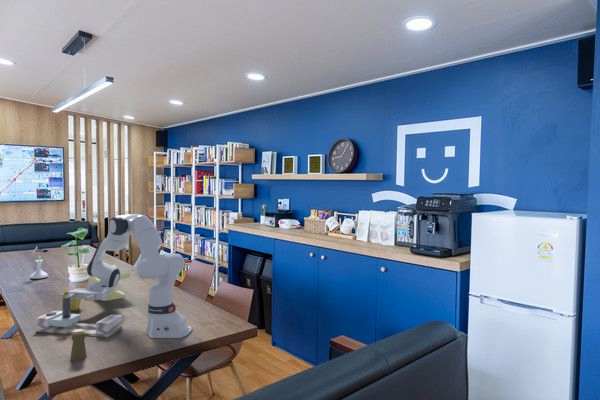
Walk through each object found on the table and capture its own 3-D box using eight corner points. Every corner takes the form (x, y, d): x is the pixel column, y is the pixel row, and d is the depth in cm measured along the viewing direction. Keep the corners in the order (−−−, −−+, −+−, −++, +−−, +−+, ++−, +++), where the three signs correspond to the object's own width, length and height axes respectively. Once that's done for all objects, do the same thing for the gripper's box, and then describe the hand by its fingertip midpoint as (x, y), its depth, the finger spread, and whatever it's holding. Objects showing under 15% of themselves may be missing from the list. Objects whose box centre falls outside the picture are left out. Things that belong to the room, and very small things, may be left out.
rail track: (121, 328, 198) (122, 314, 198) (107, 337, 186) (107, 322, 186) (54, 322, 203) (54, 309, 203) (36, 331, 191) (36, 316, 191)
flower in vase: (35, 276, 299) (35, 244, 298) (51, 276, 300) (51, 244, 299) (25, 280, 286) (25, 247, 285) (41, 280, 287) (41, 247, 287)
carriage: (80, 322, 200) (80, 295, 199) (66, 329, 190) (66, 300, 189) (66, 321, 201) (66, 294, 200) (51, 328, 191) (51, 299, 190)
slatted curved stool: (89, 294, 256) (89, 267, 256) (114, 290, 267) (114, 264, 266) (103, 305, 234) (103, 276, 234) (130, 300, 245) (130, 272, 244)
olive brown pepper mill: (73, 362, 159) (73, 336, 159) (68, 357, 163) (68, 332, 163) (88, 357, 164) (88, 332, 164) (83, 353, 168) (83, 328, 168)
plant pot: (57, 310, 223) (57, 293, 222) (74, 305, 232) (74, 289, 232) (70, 312, 219) (70, 295, 219) (86, 307, 228) (86, 291, 228)
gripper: (77, 284, 218) (59, 291, 204) (111, 286, 216) (95, 293, 202) (77, 295, 218) (59, 302, 205) (111, 298, 216) (95, 305, 202)
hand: (77, 298), depth 203 cm, fingers open, 8 cm apart
